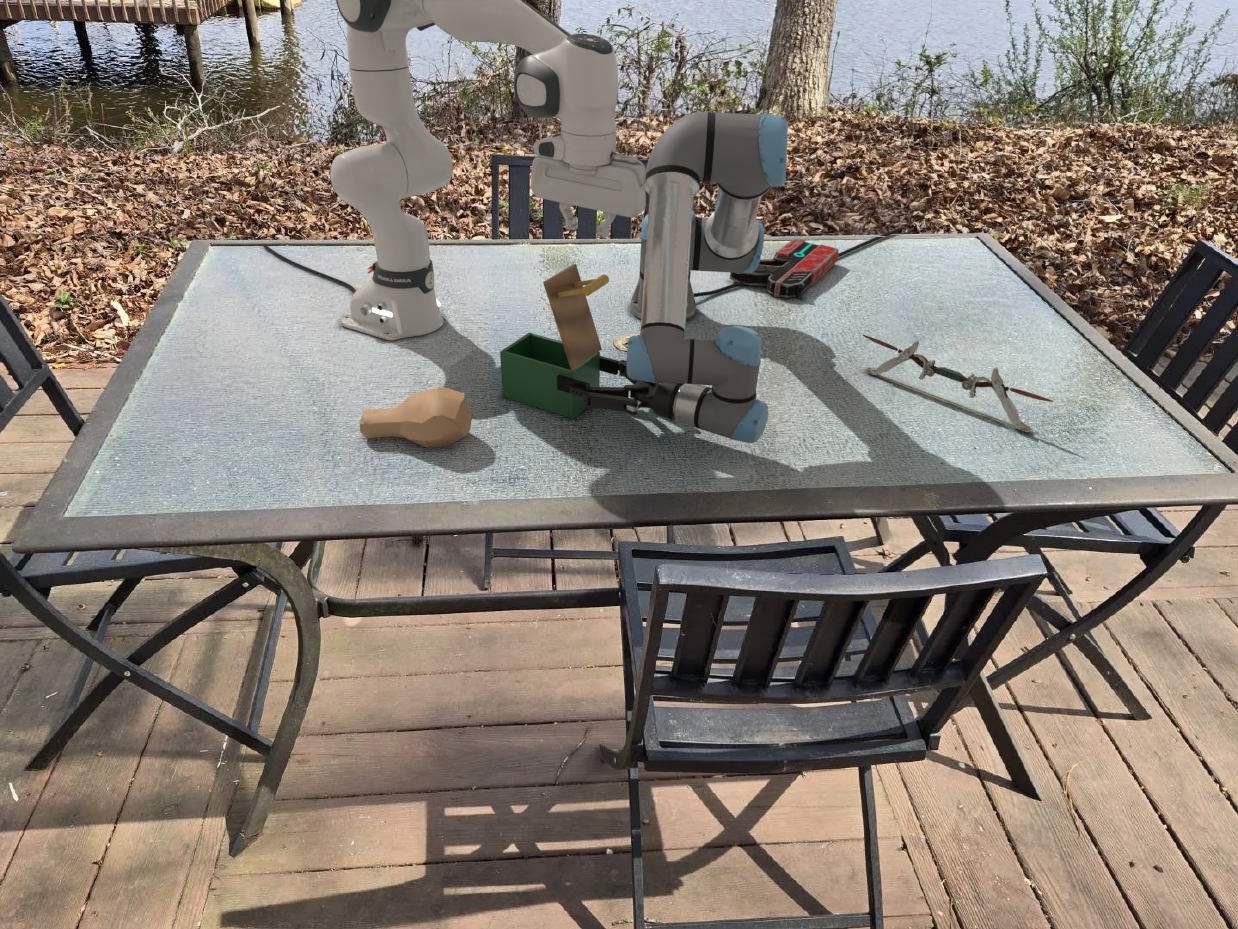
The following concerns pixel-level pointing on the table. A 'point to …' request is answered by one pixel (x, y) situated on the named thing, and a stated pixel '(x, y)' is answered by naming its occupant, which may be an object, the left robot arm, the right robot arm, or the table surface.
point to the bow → (967, 383)
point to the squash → (422, 418)
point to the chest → (544, 374)
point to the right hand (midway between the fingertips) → (573, 370)
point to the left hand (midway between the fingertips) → (587, 232)
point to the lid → (574, 313)
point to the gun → (791, 268)
